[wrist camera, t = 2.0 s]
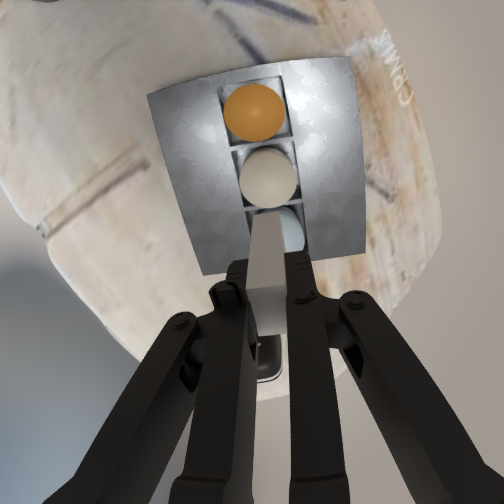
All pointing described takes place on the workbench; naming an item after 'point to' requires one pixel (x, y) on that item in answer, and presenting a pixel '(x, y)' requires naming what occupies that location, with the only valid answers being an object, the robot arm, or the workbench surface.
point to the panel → (286, 140)
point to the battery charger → (269, 357)
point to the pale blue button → (290, 228)
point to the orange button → (254, 112)
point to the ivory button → (267, 178)
